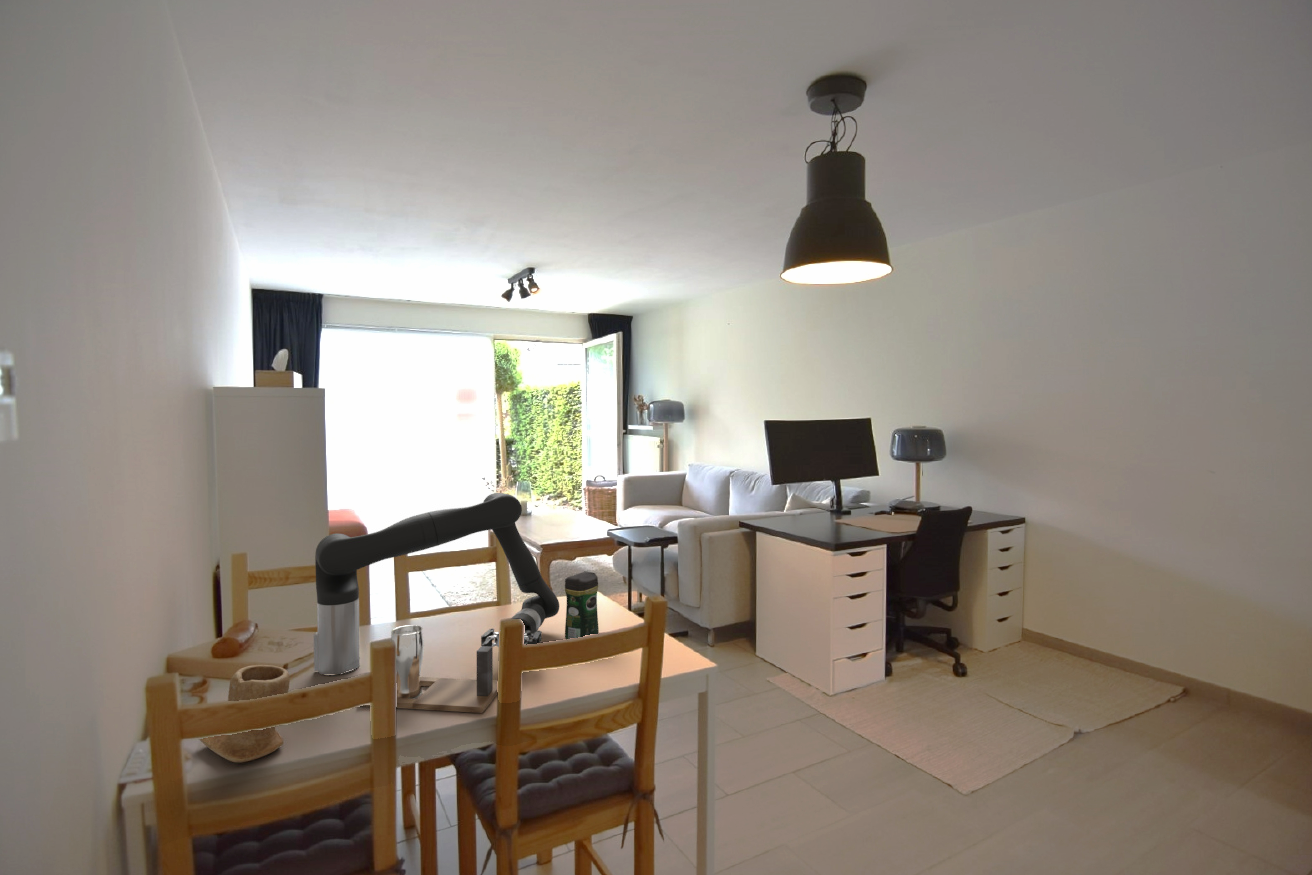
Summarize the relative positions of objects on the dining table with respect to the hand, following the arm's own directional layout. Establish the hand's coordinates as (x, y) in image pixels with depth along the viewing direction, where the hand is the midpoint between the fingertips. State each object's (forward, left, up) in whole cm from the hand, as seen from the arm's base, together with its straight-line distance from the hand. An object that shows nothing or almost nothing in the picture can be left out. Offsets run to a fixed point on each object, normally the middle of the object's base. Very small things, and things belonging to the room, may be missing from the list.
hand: (502, 649), depth 150 cm
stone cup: (-37, -35, -7) cm, 52 cm away
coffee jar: (+13, +29, -7) cm, 33 cm away
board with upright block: (-12, -11, -7) cm, 18 cm away
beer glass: (-18, -11, -7) cm, 22 cm away
